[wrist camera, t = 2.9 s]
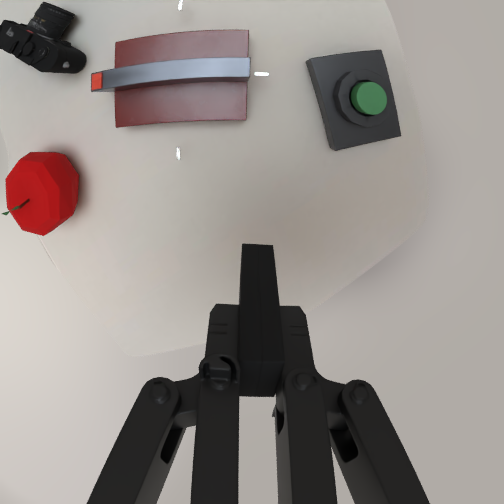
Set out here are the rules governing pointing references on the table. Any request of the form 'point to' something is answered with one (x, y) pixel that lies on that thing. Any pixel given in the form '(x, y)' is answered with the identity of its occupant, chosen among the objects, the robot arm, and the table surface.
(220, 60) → the red-tipped grey slab
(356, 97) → the green push button
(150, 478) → the robot arm
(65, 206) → the apple
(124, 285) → the table surface
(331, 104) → the control block
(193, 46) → the red rectangular box
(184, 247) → the table surface
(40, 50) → the camera
